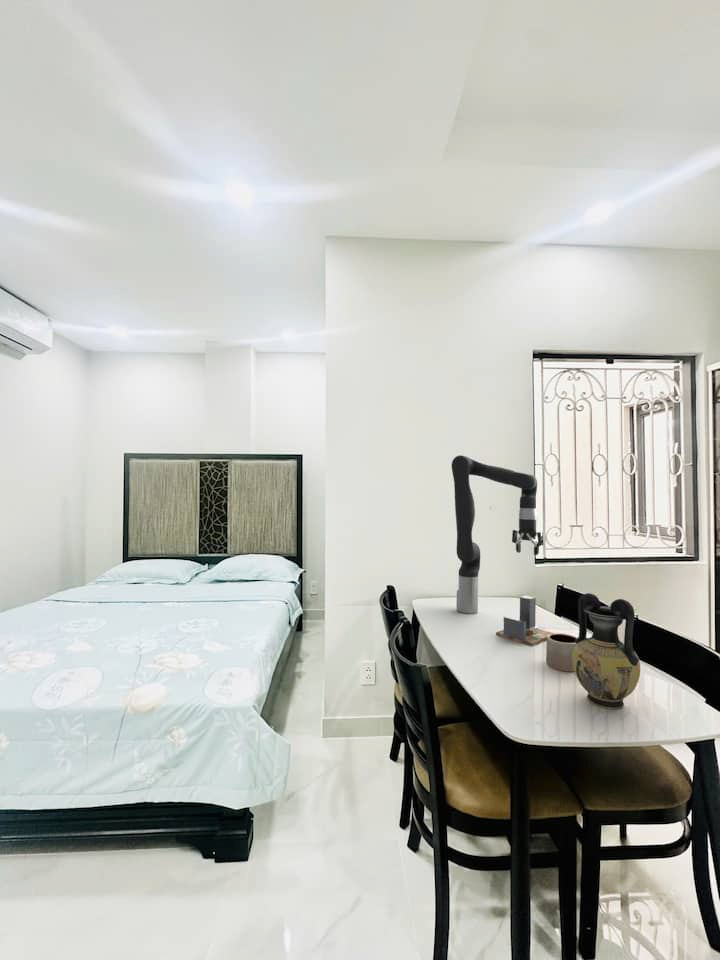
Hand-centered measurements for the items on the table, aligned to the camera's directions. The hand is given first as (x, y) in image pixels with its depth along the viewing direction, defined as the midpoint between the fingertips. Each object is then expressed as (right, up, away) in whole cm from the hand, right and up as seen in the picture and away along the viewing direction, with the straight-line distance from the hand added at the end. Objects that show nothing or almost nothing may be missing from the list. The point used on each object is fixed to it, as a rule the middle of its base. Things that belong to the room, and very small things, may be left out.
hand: (527, 553), depth 211 cm
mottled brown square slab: (-9, -30, -23) cm, 39 cm away
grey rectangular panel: (-15, -28, -28) cm, 43 cm away
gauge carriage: (-10, -28, -24) cm, 38 cm away
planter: (-7, -30, -54) cm, 62 cm away
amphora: (-7, -30, -80) cm, 85 cm away
